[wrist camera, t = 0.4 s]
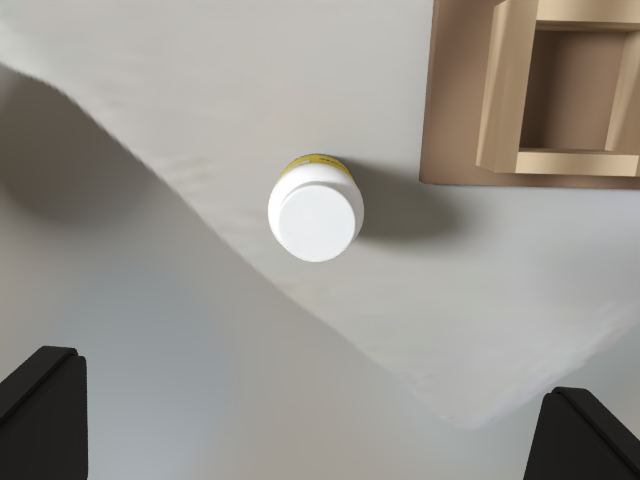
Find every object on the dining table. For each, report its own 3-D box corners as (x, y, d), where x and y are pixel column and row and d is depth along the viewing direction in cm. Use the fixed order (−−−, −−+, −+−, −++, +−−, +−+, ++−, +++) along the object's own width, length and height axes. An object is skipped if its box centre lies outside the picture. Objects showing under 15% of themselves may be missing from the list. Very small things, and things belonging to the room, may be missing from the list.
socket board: (691, -5, 30) (762, -26, 25) (650, 186, 34) (705, 200, 29) (435, -14, 30) (457, -35, 25) (418, 180, 33) (435, 193, 29)
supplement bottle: (370, 201, 34) (390, 240, 24) (306, 243, 35) (301, 296, 25) (327, 136, 33) (330, 149, 23) (261, 181, 33) (239, 211, 24)
